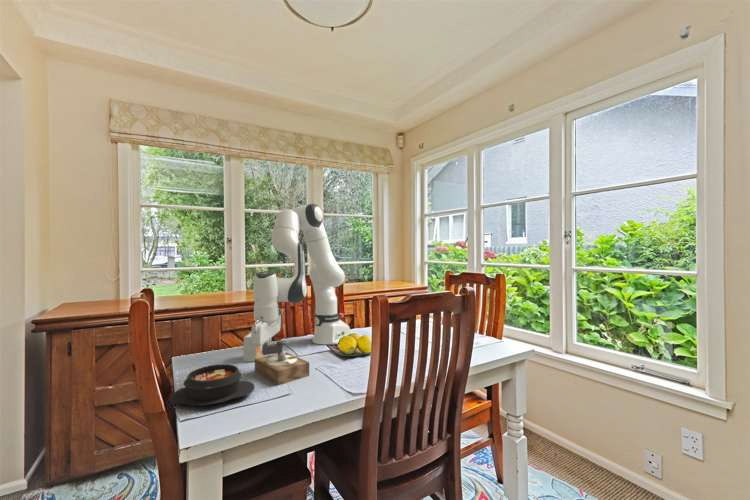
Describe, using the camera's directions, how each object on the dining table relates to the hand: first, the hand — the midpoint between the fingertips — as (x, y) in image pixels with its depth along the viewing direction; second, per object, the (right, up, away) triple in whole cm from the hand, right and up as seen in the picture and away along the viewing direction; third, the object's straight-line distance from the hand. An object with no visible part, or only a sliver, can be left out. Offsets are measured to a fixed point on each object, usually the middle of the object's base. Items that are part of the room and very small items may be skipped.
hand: (267, 350), depth 132 cm
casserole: (-11, -10, -20) cm, 25 cm away
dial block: (+5, -9, 0) cm, 11 cm away
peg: (+5, -4, 0) cm, 6 cm away
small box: (-11, -9, +18) cm, 23 cm away
